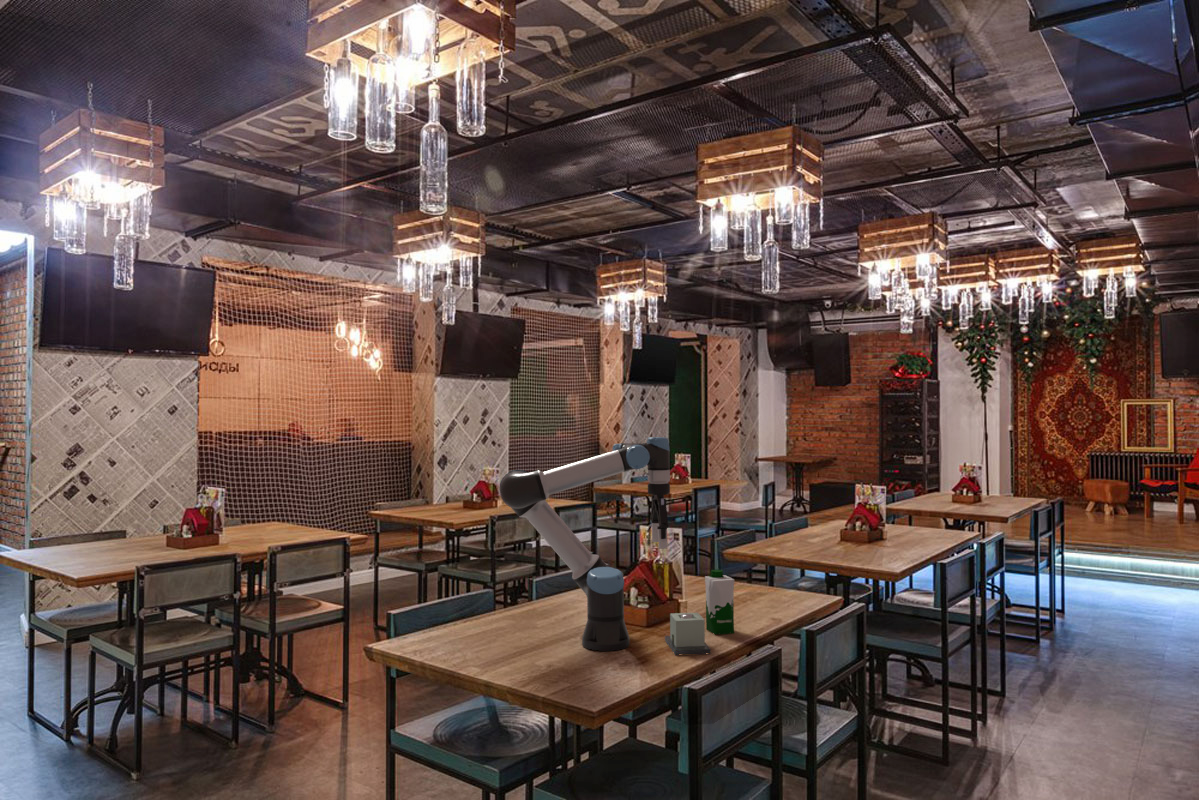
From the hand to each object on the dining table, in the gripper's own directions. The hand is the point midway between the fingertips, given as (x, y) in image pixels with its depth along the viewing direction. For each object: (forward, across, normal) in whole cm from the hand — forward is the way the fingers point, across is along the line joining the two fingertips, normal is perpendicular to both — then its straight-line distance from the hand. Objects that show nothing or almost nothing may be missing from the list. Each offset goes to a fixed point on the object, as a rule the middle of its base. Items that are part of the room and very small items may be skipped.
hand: (659, 545), depth 265 cm
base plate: (+29, +20, +5) cm, 35 cm away
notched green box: (+27, +20, +5) cm, 34 cm away
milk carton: (+29, +3, +20) cm, 35 cm away
